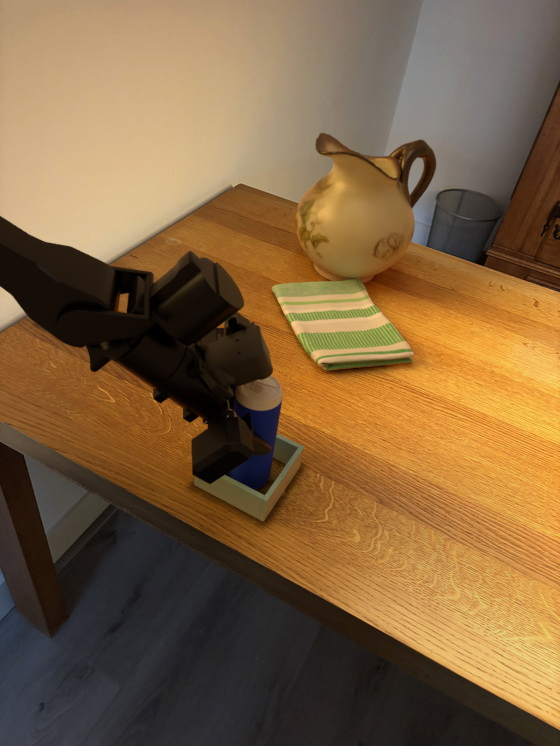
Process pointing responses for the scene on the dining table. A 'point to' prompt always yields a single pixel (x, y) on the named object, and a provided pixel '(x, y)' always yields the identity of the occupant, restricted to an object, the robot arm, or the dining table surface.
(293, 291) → the dish towel
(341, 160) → the pitcher
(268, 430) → the beverage can
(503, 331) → the dining table surface
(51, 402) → the dining table surface
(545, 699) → the dining table surface
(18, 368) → the dining table surface
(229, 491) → the tray
